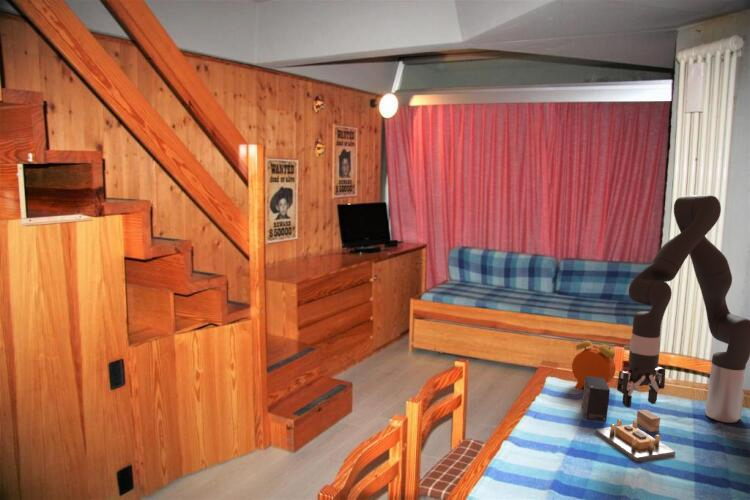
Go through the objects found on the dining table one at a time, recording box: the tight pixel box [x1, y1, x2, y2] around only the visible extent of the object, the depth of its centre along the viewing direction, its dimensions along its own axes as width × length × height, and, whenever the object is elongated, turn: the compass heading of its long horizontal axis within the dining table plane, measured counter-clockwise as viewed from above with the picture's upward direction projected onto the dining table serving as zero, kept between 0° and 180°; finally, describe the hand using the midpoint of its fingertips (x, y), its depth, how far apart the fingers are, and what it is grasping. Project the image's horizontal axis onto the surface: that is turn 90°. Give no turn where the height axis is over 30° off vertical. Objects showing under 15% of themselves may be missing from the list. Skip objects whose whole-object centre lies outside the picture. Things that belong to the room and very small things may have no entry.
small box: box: [581, 376, 611, 422], centre depth 188 cm, size 11×6×10 cm, turn 168°
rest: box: [636, 409, 661, 433], centre depth 181 cm, size 3×6×4 cm, turn 18°
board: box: [615, 424, 655, 449], centre depth 169 cm, size 5×10×3 cm, turn 18°
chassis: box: [594, 419, 676, 462], centre depth 169 cm, size 13×17×4 cm
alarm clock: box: [571, 332, 616, 390], centre depth 207 cm, size 13×6×20 cm, turn 49°
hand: (639, 404), depth 168 cm, fingers open, 8 cm apart
